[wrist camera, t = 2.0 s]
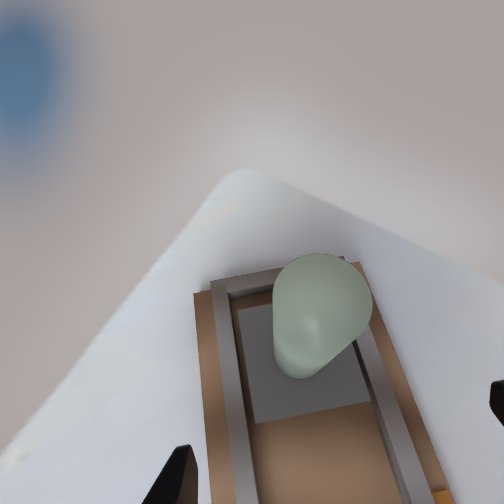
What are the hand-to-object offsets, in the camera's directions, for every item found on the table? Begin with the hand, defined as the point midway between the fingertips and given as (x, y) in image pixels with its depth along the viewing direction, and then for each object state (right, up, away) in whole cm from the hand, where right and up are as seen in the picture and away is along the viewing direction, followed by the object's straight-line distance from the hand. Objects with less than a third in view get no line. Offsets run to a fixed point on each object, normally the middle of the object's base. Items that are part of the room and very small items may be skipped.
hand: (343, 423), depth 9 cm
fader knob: (0, -1, +10) cm, 10 cm away
